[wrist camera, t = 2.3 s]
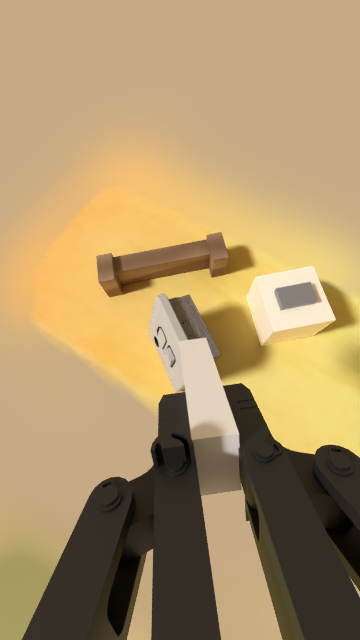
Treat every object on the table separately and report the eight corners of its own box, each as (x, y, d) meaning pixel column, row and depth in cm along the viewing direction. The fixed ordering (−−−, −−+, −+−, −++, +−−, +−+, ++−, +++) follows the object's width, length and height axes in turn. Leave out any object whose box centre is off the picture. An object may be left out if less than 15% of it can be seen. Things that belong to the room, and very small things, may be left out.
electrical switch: (148, 329, 36) (141, 298, 27) (182, 315, 37) (186, 281, 28) (176, 394, 33) (178, 382, 24) (212, 377, 34) (227, 360, 25)
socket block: (312, 335, 34) (339, 317, 28) (260, 345, 34) (275, 329, 28) (294, 288, 37) (315, 262, 31) (246, 298, 37) (257, 273, 30)
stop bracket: (225, 274, 38) (228, 257, 34) (109, 297, 38) (98, 282, 34) (218, 251, 39) (221, 232, 35) (106, 273, 39) (96, 255, 35)
